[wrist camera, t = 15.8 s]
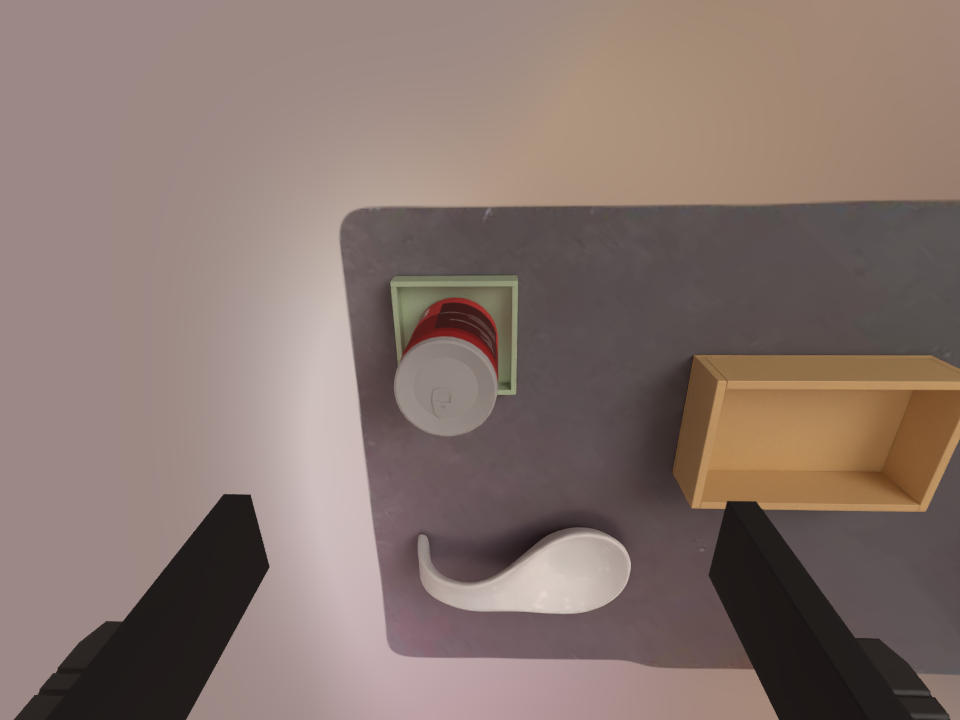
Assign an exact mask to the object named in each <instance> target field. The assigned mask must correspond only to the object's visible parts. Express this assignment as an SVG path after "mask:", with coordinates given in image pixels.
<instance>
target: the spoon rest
mask: <svg viewBox="0 0 960 720" xmlns="http://www.w3.org/2000/svg"><path fill="white" fill-rule="evenodd" d="M418 557H419V571H420V579H421V582H422V584H423V586H424V588H425V589H426V591H427V592H428V593H429V594H430V595H432V596H433V597H434V598H436V599H437V600H439V601H441V602H443V603H445V604H448V605H451V606H453V607H457V608H460V609H465V610H471V611H521V612H536V613H557V614H573V613H581V612H586V611H591V610H593V609H596V608H599V607H601V606H604V605H605V604H607V603H609V602H610V601H612V600H613V599H614V598H616V597H617V596H618V595H619V594H620V593H621V591H622V590H623V589H624V587H625V585H626V584H627V581H628V578H629V575H630V569H631V563H630V558H629V555H628V553H627V551H626V549H625V547H624V546H623V545H622V544H621V543H620V542H619V541H617V540H616V539H615V538H613V537H611V536H610V535H608V534H606V533H604V532H602V531H599V530H596V529H591V528H585V527H574V528H567V529H563V530H559V531H556V532H554V533H551V534H549V535H547V536H546V537H544V538H543V539H541V540H540V541H539V542H538V543H536V544H535V545H534V546H533V547H532V548H530V549H529V550H528V551H527V552H526V553H524V554H523V555H522V556H521V557H520V558H518V559H517V560H516V561H515V562H513V563H512V564H511V565H510V566H508V567H507V568H505V569H504V570H502V571H501V572H499V573H498V574H496V575H494V576H492V577H490V578H488V579H486V580H482V581H478V582H461V581H456V580H453V579H450V578H447V577H445V576H443V575H442V574H440V573H439V572H438V571H437V570H436V569H435V568H434V566H433V565H432V563H431V560H430V547H429V541H428V538H427V536H425V535H423V534H420V535H419V537H418Z"/></svg>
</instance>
